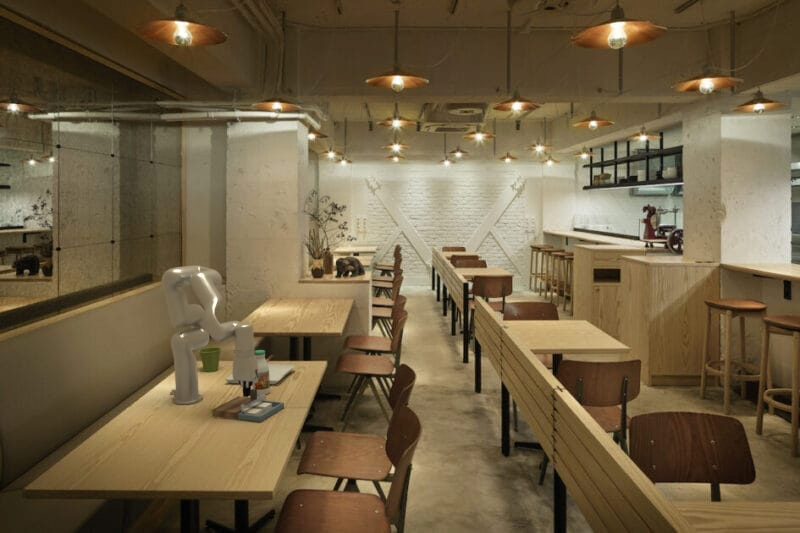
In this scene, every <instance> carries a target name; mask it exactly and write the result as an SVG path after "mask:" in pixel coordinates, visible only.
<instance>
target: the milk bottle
mask: <svg viewBox="0 0 800 533" xmlns="http://www.w3.org/2000/svg"><path fill="white" fill-rule="evenodd" d="M254 355H255V356H256V359H257V364H258V378H257V379H258V382H257V383H255V384H252V389H257V396H259V395H261V394H263V393H264V394H266V395H268V394H270V393H271V392H270V391H271V389H270V388H271V386H270V385H271V384H270V379H269V367H268V364H269V363H268V362H266V360H265V359H266V357H265V356H266V351H265V350H264V349H257V350H254Z"/></svg>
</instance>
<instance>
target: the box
mask: <svg viewBox="0 0 800 533" xmlns="http://www.w3.org/2000/svg"><path fill="white" fill-rule="evenodd" d="M262 402H264V403H272V408H271V409H269V410H268V411H266V412H263V411H262V415H260V416H257V415H249V414H245V412H246V411H248V410H249V409H248V410H246V411H245V412H244V411H242V412H240V413H238V420H237V421H245V422H252V423H263V422H264V421H266V420H268V419H270V418H271V417H273V416H274V415H276V414H277V413H279V412H281V411H282V410H284V409H285V402H283V401H275V400H274V401H273V400H267V399H266V400H264V401H262ZM257 405H258V404H257ZM255 406H256V405H255ZM255 406H253V407H252V408H253V409H255ZM250 409H251V408H250Z"/></svg>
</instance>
